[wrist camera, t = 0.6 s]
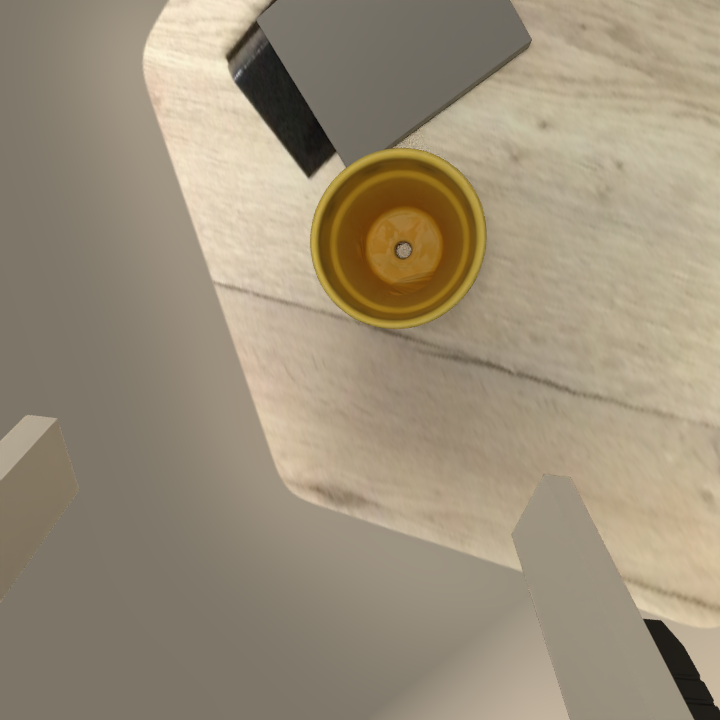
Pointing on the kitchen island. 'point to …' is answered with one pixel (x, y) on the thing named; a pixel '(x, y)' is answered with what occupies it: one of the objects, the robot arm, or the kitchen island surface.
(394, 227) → the plant pot
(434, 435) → the kitchen island surface
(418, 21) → the trivet mat
